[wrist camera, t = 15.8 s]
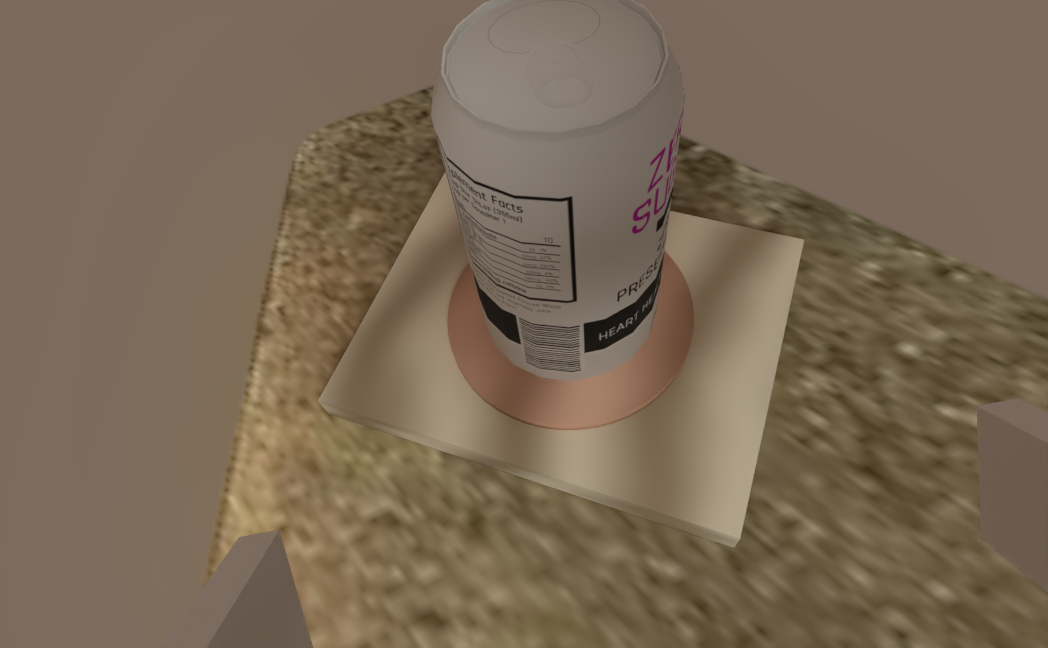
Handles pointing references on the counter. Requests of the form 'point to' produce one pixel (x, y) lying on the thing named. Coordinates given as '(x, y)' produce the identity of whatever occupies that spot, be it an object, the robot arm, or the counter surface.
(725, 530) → the mount board
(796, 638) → the counter surface
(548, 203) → the supplement can
